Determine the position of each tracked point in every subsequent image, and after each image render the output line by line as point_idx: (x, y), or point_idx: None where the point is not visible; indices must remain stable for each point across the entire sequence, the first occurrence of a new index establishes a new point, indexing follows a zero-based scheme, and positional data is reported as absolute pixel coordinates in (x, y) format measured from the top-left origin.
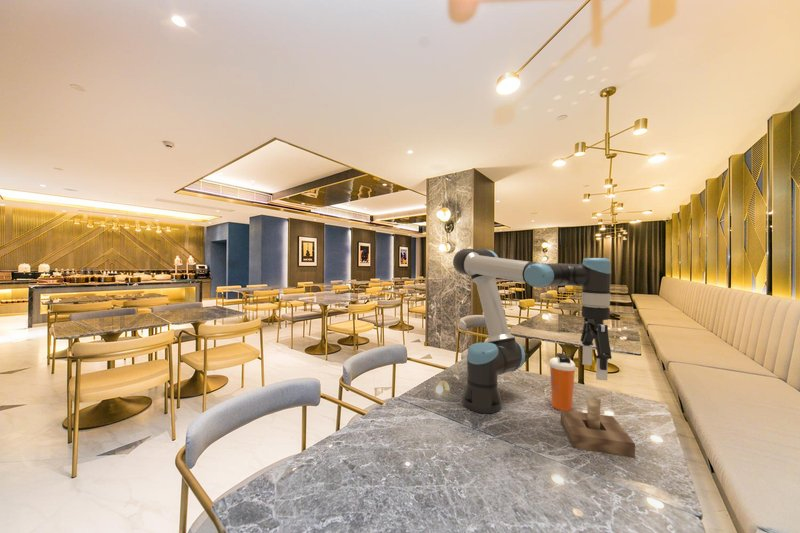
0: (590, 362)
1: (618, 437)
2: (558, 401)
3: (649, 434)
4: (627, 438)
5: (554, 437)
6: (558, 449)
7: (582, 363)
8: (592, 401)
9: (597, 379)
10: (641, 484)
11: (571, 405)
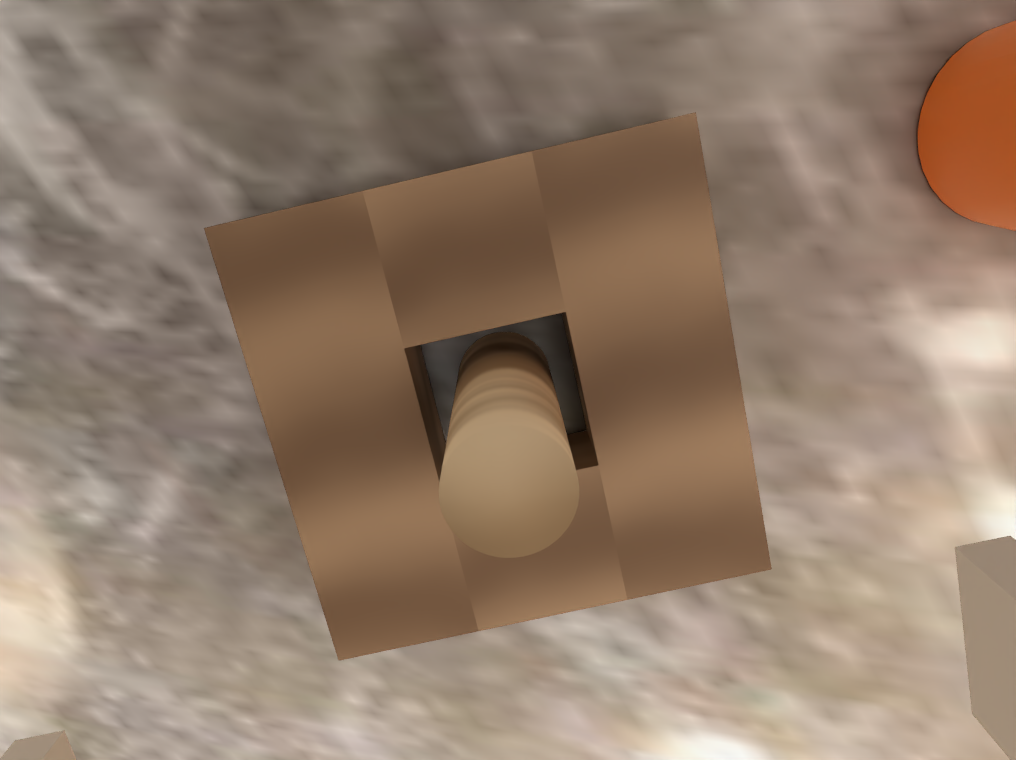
0: (1009, 730)
1: (371, 566)
2: (967, 86)
3: (759, 740)
4: (392, 623)
5: (320, 73)
6: (140, 110)
7: (1006, 543)
8: (447, 474)
9: (15, 749)
10: (45, 591)
11: (989, 221)
